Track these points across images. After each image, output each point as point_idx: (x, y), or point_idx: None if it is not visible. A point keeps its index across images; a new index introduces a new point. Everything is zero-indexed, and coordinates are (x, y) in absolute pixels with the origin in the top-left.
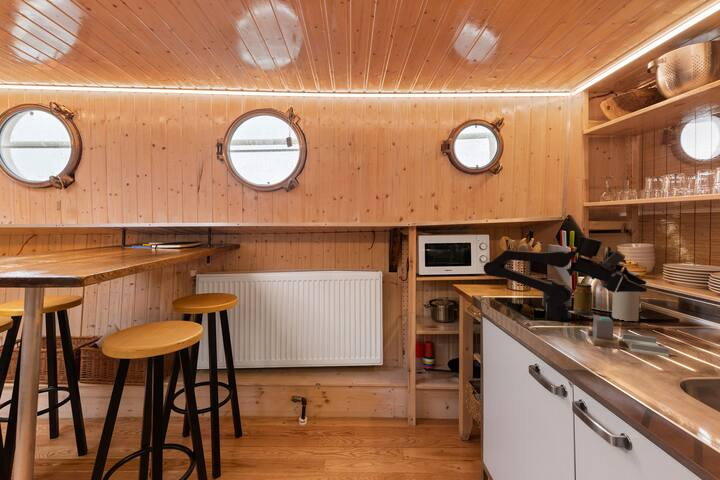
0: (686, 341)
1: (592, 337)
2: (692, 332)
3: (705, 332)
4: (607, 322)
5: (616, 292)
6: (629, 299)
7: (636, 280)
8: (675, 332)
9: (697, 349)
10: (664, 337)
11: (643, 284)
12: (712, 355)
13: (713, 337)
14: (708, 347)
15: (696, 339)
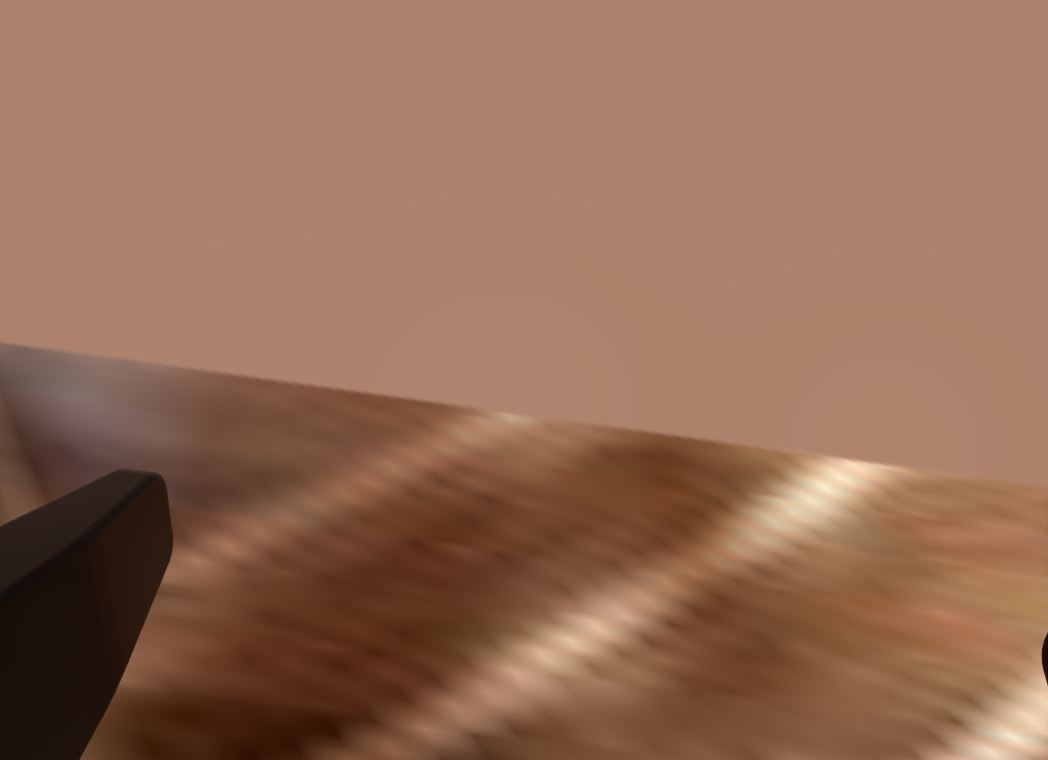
0: (592, 570)
1: None
2: (197, 479)
3: (152, 401)
4: None
5: None
6: None
7: (20, 713)
8: (270, 604)
9: (827, 536)
10: (570, 734)
11: (157, 583)
12: (929, 475)
13: (303, 384)
14: (679, 459)
15: (454, 491)
